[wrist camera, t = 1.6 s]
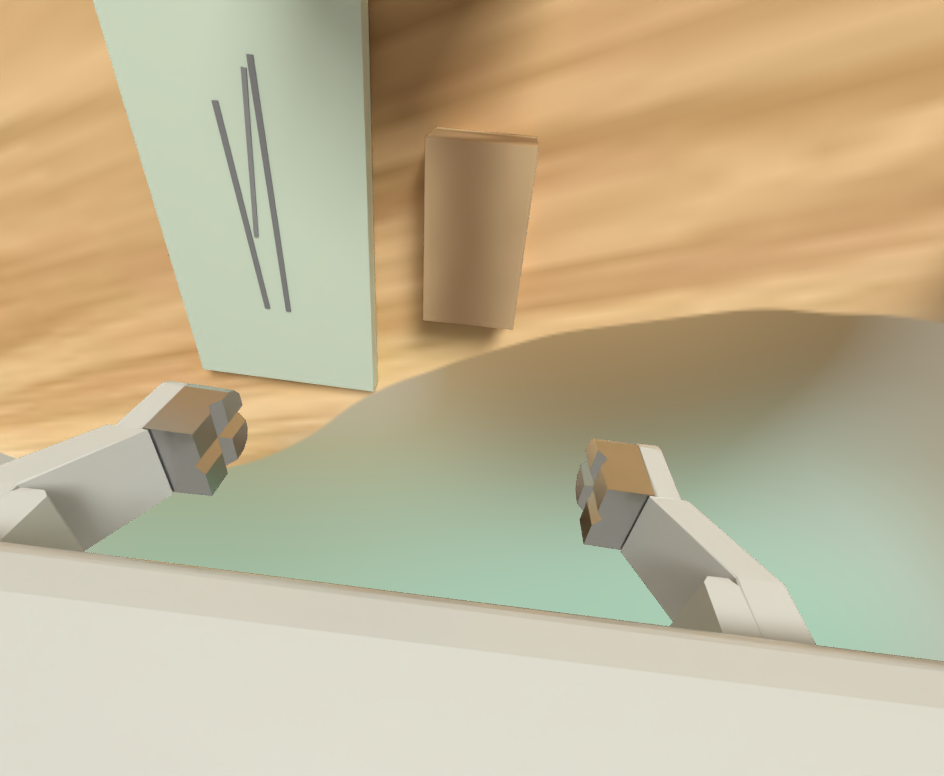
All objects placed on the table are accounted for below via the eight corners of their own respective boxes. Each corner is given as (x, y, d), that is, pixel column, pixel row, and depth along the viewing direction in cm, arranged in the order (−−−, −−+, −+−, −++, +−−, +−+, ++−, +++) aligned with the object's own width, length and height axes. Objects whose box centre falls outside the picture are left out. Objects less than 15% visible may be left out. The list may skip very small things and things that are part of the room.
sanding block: (536, 135, 23) (539, 147, 20) (513, 299, 28) (512, 329, 25) (438, 126, 23) (425, 136, 20) (433, 290, 28) (422, 320, 25)
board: (365, -97, 18) (356, -107, 17) (377, 381, 33) (373, 392, 31) (74, -134, 18) (47, -145, 17) (212, 359, 33) (202, 369, 32)
